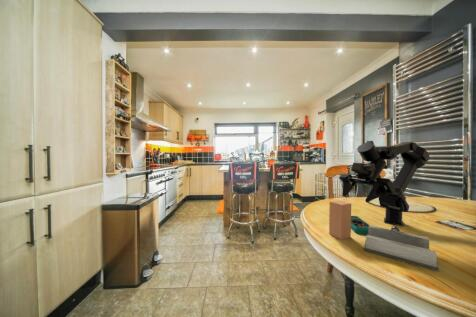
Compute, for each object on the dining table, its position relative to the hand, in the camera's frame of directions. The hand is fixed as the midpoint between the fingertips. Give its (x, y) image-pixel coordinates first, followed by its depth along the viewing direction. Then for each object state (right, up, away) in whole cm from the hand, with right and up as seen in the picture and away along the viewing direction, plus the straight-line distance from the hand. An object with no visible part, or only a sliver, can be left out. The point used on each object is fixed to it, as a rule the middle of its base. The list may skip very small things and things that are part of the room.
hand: (354, 198), depth 70 cm
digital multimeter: (+5, -14, +6) cm, 16 cm away
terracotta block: (-7, -13, -3) cm, 15 cm away
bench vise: (+7, -14, -11) cm, 19 cm away
